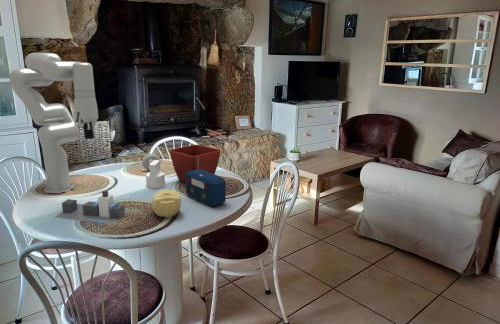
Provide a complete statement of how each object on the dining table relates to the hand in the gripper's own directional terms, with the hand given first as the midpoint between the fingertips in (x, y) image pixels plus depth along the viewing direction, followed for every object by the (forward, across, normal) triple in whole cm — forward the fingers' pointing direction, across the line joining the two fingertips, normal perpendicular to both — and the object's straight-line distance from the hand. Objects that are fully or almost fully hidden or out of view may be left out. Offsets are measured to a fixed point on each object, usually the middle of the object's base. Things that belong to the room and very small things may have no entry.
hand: (89, 138), depth 153 cm
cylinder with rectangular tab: (+29, -28, +15) cm, 43 cm away
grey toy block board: (+29, +13, +8) cm, 33 cm away
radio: (+29, -16, +45) cm, 56 cm away
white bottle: (+28, +13, +14) cm, 33 cm away
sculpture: (+29, +3, +35) cm, 46 cm away
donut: (+29, -50, +2) cm, 58 cm away
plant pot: (+29, -40, +32) cm, 59 cm away
